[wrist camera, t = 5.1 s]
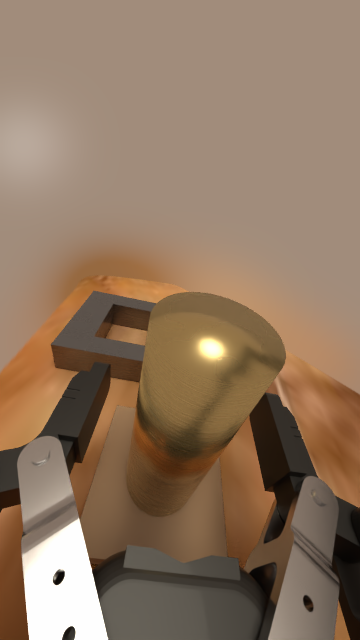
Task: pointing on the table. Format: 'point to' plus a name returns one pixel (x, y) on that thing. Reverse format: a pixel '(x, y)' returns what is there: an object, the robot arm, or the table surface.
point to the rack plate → (103, 336)
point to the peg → (195, 393)
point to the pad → (135, 525)
